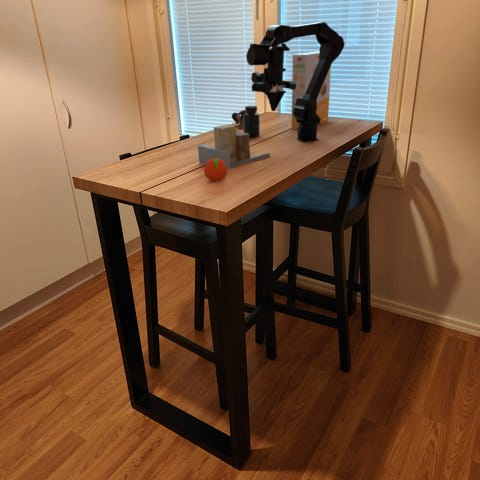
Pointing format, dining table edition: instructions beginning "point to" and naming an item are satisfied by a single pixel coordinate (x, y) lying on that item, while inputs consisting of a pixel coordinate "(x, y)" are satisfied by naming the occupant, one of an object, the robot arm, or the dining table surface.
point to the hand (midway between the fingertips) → (273, 111)
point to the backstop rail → (223, 156)
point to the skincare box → (226, 140)
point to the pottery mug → (238, 117)
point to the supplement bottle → (251, 121)
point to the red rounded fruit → (215, 169)
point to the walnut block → (242, 146)
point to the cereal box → (302, 77)
